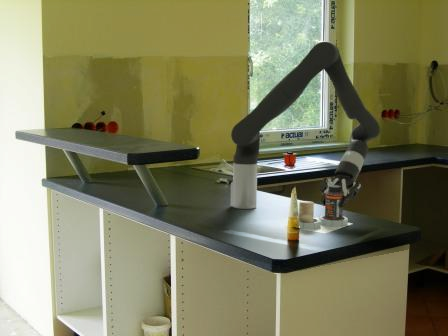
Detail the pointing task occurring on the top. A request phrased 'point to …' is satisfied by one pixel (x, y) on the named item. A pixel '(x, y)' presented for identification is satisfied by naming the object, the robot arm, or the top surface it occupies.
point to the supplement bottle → (333, 203)
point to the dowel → (306, 211)
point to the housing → (324, 224)
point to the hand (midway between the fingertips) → (331, 205)
